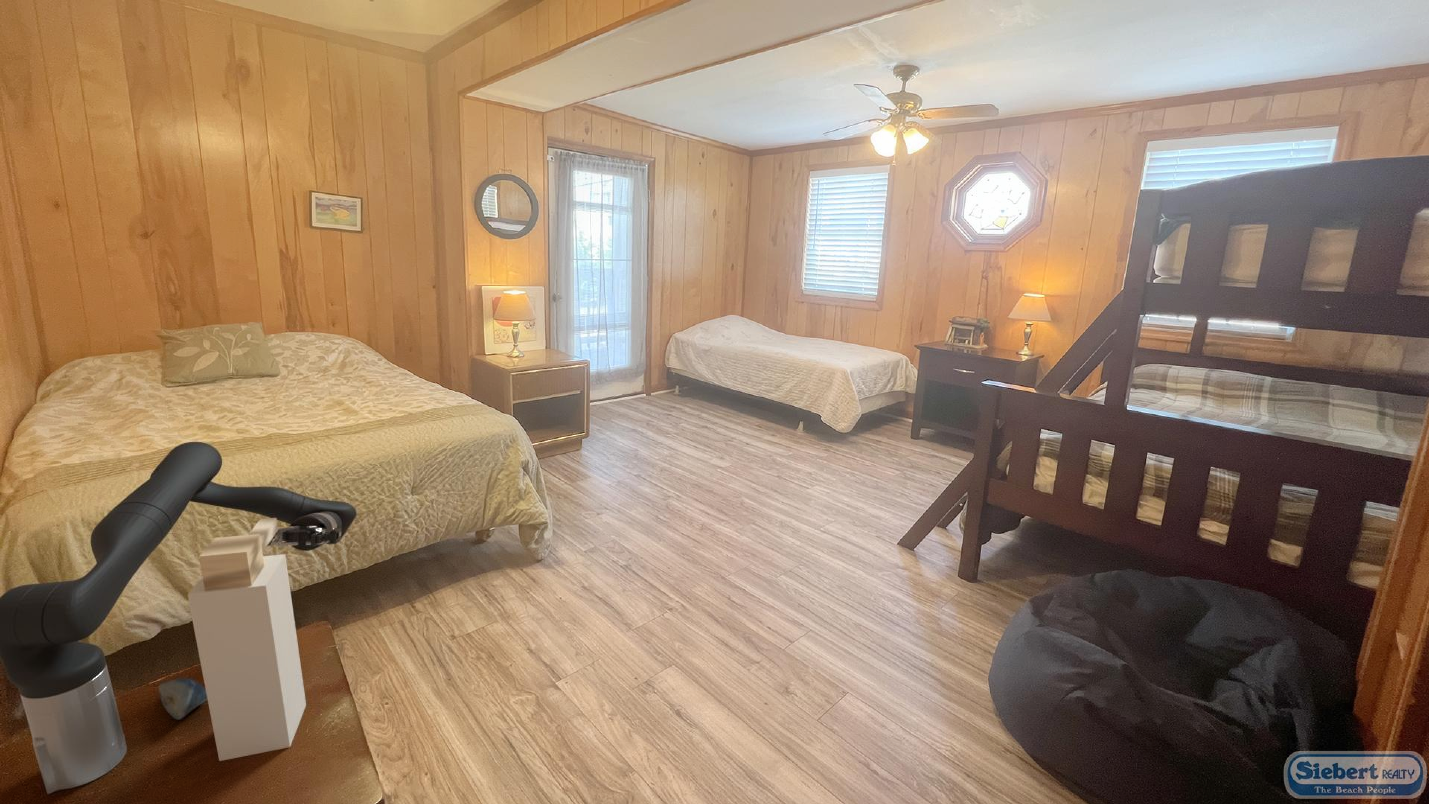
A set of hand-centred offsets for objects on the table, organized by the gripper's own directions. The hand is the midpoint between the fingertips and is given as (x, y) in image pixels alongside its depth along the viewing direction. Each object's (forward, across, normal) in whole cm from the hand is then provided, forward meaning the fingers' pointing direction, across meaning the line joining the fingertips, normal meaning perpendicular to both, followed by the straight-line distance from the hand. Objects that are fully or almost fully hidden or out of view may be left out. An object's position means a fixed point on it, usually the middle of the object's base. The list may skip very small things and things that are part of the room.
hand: (287, 541), depth 115 cm
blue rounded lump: (-1, -15, +30) cm, 34 cm away
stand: (+8, +1, +32) cm, 33 cm away
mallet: (+15, -1, +1) cm, 15 cm away
